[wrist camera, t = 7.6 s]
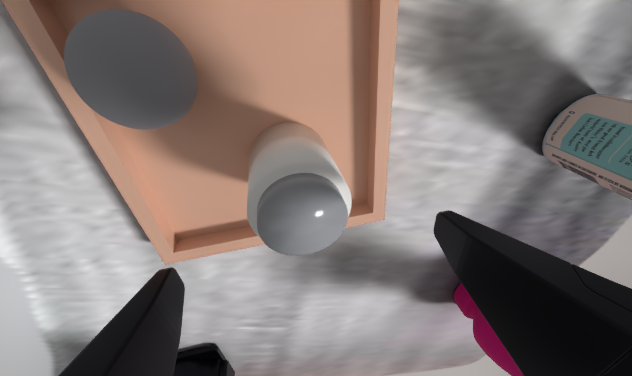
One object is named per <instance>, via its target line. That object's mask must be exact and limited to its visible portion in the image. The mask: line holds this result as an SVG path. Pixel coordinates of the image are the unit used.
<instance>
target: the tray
mask: <svg viewBox="0 0 632 376" xmlns="http://www.w3.org/2000/svg"><path fill="white" fill-rule="evenodd" d="M1 1H2V3H3V5H4V6H5V8H6V9H7V11H8V13H9V14H10V16H11V18H12V19H13V21H14V22H15V24H16V26H17V27H18V29H19V30H20V32H21V34H22V35H23V37H24V38H25V40H26V42H27V43H28V45H29V46H30V48H31V50H32V51H33V53H34V55H35V56H36V58H37V59H38V61H39V63H40V64H41V66H42V67H43V69H44V71H45V72H46V74H47V75H48V77H49V79H50V80H51V82H52V84H53V85H54V87H55V88H56V90H57V92H58V93H59V95H60V96H61V98H62V100H63V101H64V103H65V104H66V106H67V108H68V109H69V111H70V112H71V114H72V116H73V117H74V119H75V121H76V122H77V124H78V125H79V127H80V129H81V130H82V132H83V133H84V135H85V137H86V138H87V140H88V141H89V143H90V145H91V146H92V148H93V150H94V151H95V153H96V154H97V156H98V158H99V159H100V161H101V162H102V164H103V166H104V167H105V169H106V170H107V172H108V174H109V175H110V177H111V178H112V180H113V182H114V183H115V185H116V187H117V188H118V190H119V191H120V193H121V195H122V196H123V198H124V199H125V201H126V203H127V204H128V206H129V207H130V209H131V211H132V212H133V214H134V216H135V217H136V219H137V220H138V222H139V224H140V225H141V227H142V228H143V230H144V232H145V233H146V235H147V236H148V238H149V240H150V241H151V243H152V245H153V246H154V248H155V249H156V251H157V253H158V254H159V256H160V257H161V259H162V261H163V262H164V264H165V265H166V264H171V263H176V262H180V261H185V260H190V259H195V258H200V257H205V256H210V255H215V254H220V253H224V252H229V251H234V250H239V249H244V248H249V247H254V246H259V245H264V244H265V243H264V242H263V241H262V239H261V238H260V237H259V236H257V235H256V233H255V232H254V231H253V230H252V228H251V226H250V224H249V222H248V218H247V194H248V175H249V157H250V151H251V147H252V145H253V143H254V141H255V139H256V138H257V137H258V136H259V135H260V134H261V133H262V132H263V131H264V130H266V129H267V128H269V127H271V126H273V125H275V124H279V123H283V122H296V123H301V124H304V125H306V126H308V127H310V128H312V129H313V130H314V131H316V132H317V133H318V134H319V135H320V137H321V138H322V140H323V141H324V143H325V145H326V147H327V149H328V151H329V152H330V154H331V156H332V158H333V160H334V162H335V163H336V165H337V167H338V169H339V171H340V172H341V174H342V176H343V178H344V180H345V182H346V183H347V185H348V188H349V190H350V193H351V199H352V205H351V211H350V214H349V216H348V220H347V224H346V227H345V228H347V227H352V226H356V225H361V224H366V223H371V222H376V221H381V220H385V205H386V190H387V174H388V159H389V144H390V128H391V113H392V98H393V82H394V67H395V52H396V37H397V21H398V6H399V0H1ZM108 9H123V10H130V11H134V12H138V13H141V14H144V15H146V16H149V17H151V18H153V19H155V20H157V21H158V22H160V23H161V24H163V25H164V26H166V27H167V28H168V29H169V30H171V31H172V32H173V33H174V34H175V35H176V36H177V37H178V38H179V39H180V40H181V41H182V43H183V44H184V45H185V47H186V48H187V50H188V51H189V53H190V55H191V57H192V59H193V61H194V64H195V67H196V71H197V78H198V90H197V95H196V98H195V101H194V103H193V105H192V107H191V109H190V110H189V111H188V113H187V114H186V115H185V116H184V117H183V118H181V119H180V120H179V121H177V122H175V123H174V124H172V125H169V126H166V127H163V128H159V129H151V130H140V129H133V128H129V127H125V126H122V125H119V124H116V123H114V122H111V121H109V120H107V119H106V118H104V117H102V116H101V115H99V114H98V113H96V112H95V111H94V110H93V109H91V108H90V107H89V106H88V105H87V104H86V103H85V102H84V101H83V100H82V99H81V98H80V96H79V95H78V94H77V92H76V91H75V89H74V88H73V86H72V84H71V82H70V80H69V78H68V75H67V73H66V69H65V64H64V47H65V43H66V39H67V37H68V35H69V33H70V32H71V30H72V29H73V27H74V26H75V25H76V24H77V23H78V22H79V21H80V20H81V19H83V18H85V17H86V16H88V15H90V14H92V13H95V12H98V11H102V10H108Z"/></svg>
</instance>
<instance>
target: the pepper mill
mask: <svg viewBox="0 0 632 376" xmlns="http://www.w3.org/2000/svg"><path fill="white" fill-rule="evenodd" d="M454 301H455V303H456V304H457V305H458V307H459V308H460V310H461V311H462V312H463V314H464V315H465V316H466V317H468V318H471V319H473V333H474V337H475V340H476V341H477V343H478V344H479V346H480V347H481V348H482V349H483V351H484V352H485V353H486V354H487V355H488V356H489V357H490V358H491V359H492V360H493V361H494V362H495V363H496V364H497V365H498V366H500V367H501V368H502V369H504V370H505V371H506V372H508V373H509V374H510V375H511V376H524V375H523V374H522V372H521V371H520V369H519V368H518V366H517V365H516V363H515V362H514V360H513V359H512V358H511V356H510V355H509V353H508V352H507V350H506V349H505V347H504V346H503V344H502V343H501V341H500V340H499V338H498V337H497V335H496V334H495V332H494V331H493V329H492V328H491V326H490V325H489V323H488V322H487V320H486V319H485V317H484V316H483V314H482V313H481V311H480V310H479V308H478V307H477V306H476V304H475V303H474V301H473V300H472V298H471V297H470V295H469V294H468V292H467V291H466V289H465V288H464V286H463V285H462V283H460V284H459V286H458V287H457V289H456V290H455V293H454Z"/></svg>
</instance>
